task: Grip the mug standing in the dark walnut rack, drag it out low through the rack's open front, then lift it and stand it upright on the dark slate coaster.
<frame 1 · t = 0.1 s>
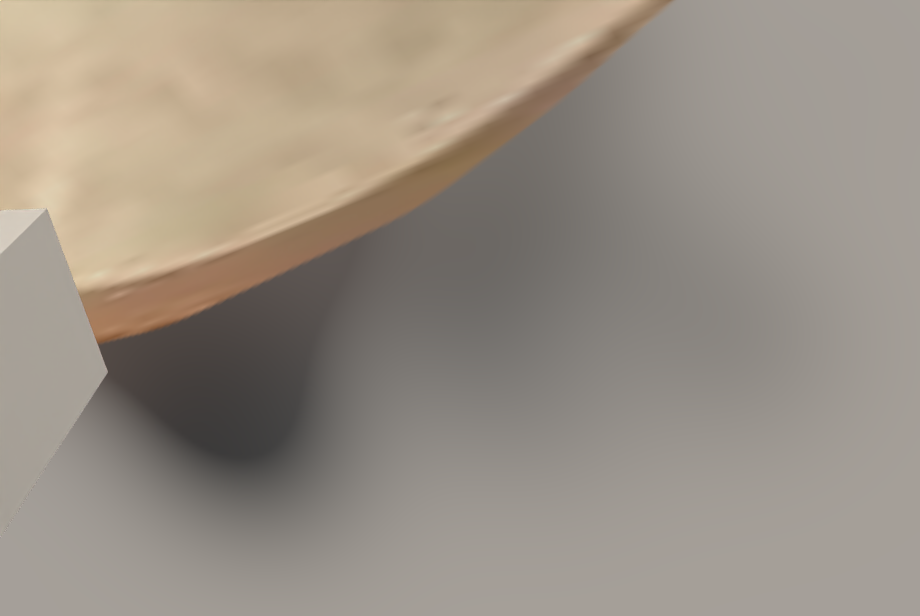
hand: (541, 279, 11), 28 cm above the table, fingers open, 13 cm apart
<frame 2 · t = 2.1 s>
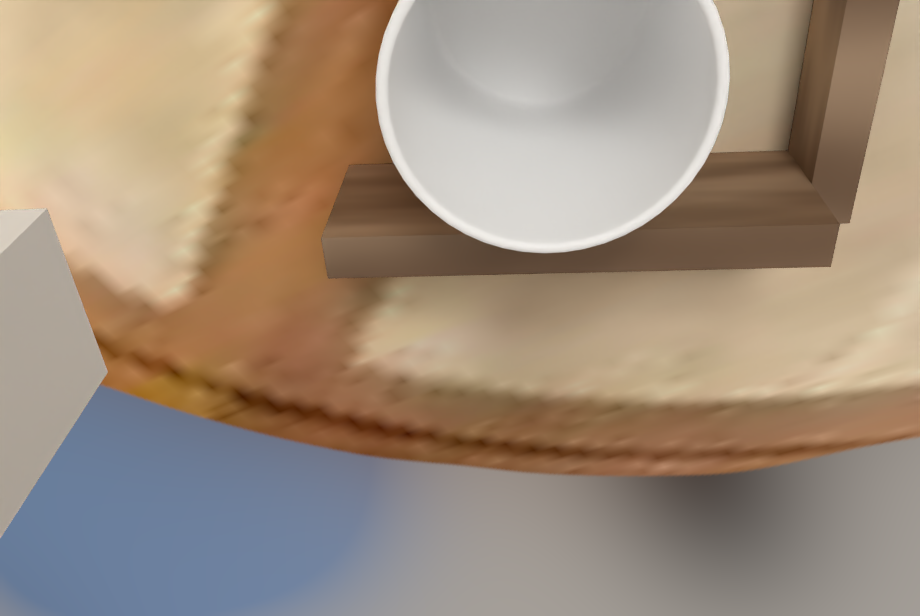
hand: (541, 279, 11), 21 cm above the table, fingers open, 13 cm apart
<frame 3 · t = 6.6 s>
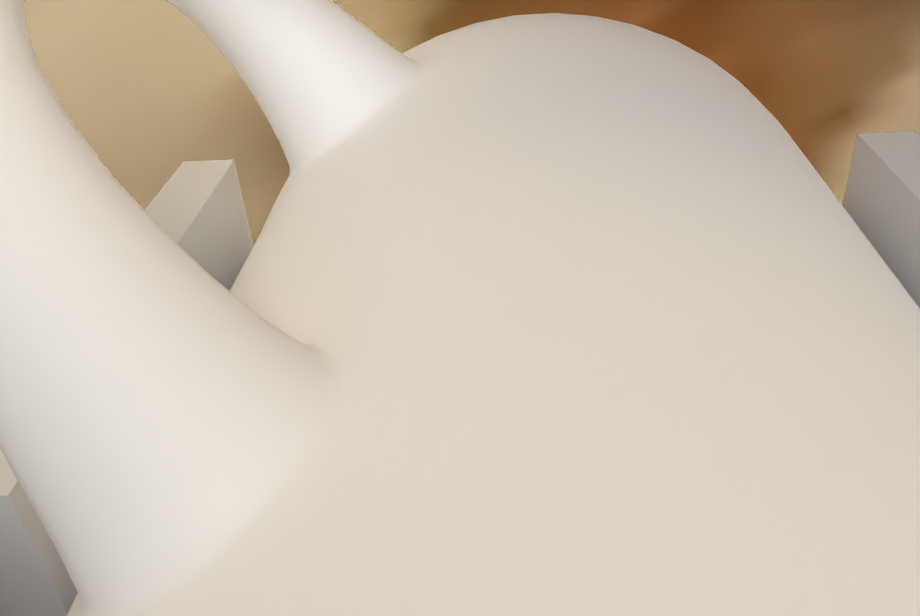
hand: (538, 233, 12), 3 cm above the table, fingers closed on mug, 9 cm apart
mug: (478, 178, 14), point 2 cm above the table, touching gripper
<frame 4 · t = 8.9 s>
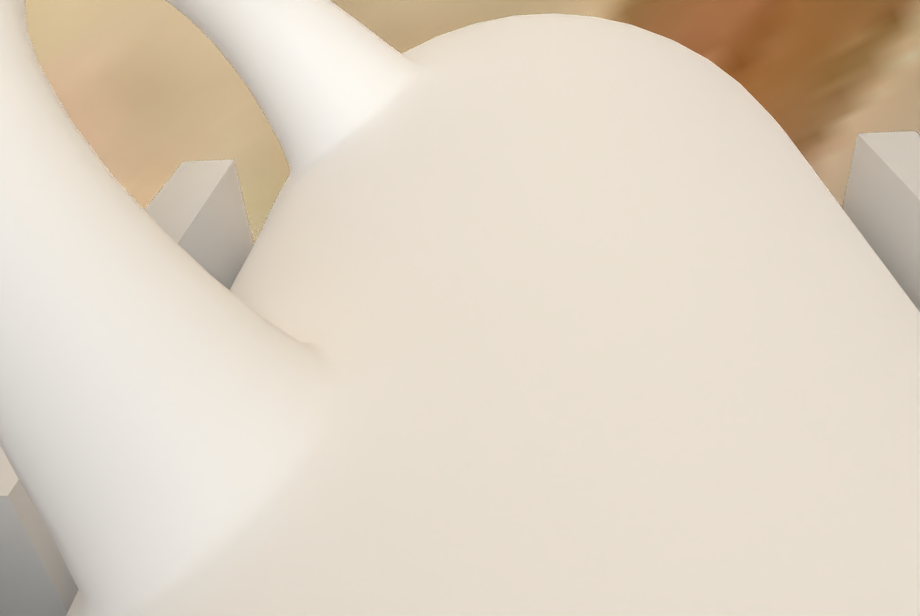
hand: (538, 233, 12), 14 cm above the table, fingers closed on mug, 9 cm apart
mug: (477, 178, 14), point 12 cm above the table, touching gripper
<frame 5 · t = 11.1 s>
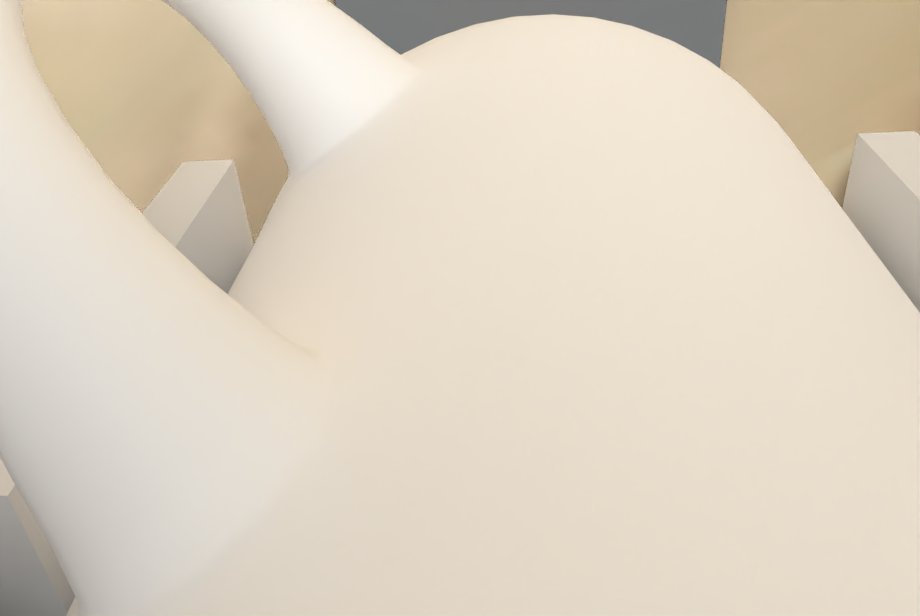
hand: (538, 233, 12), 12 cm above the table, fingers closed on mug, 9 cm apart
mug: (477, 179, 14), point 10 cm above the table, touching gripper
coaster: (528, 17, 22), on the table
when the fingers open (3 cm above the table, at t = 13.0 s): mug drops 1 cm, resting on coaster.
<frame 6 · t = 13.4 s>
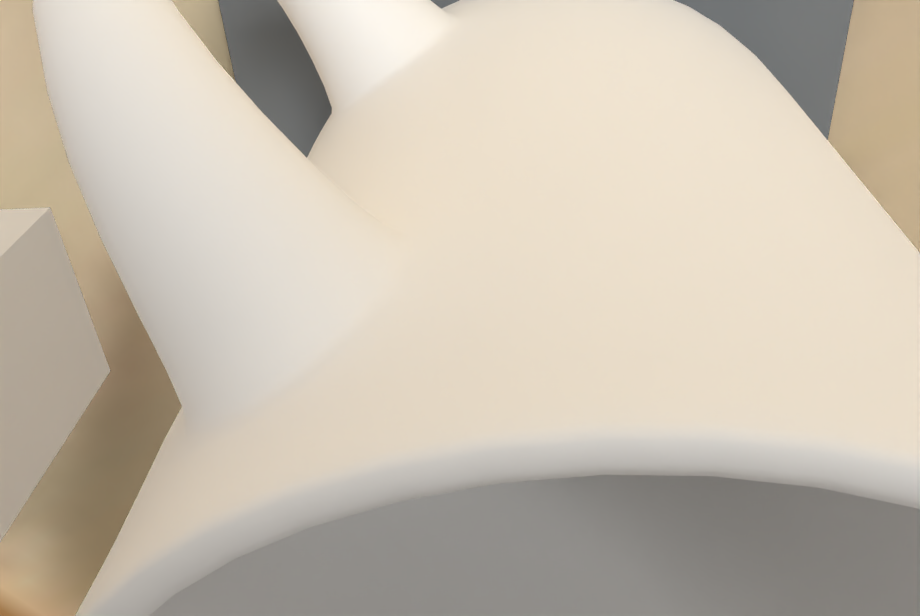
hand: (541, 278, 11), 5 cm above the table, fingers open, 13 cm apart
mug: (498, 136, 15), resting on coaster
coaster: (532, 144, 15), on the table
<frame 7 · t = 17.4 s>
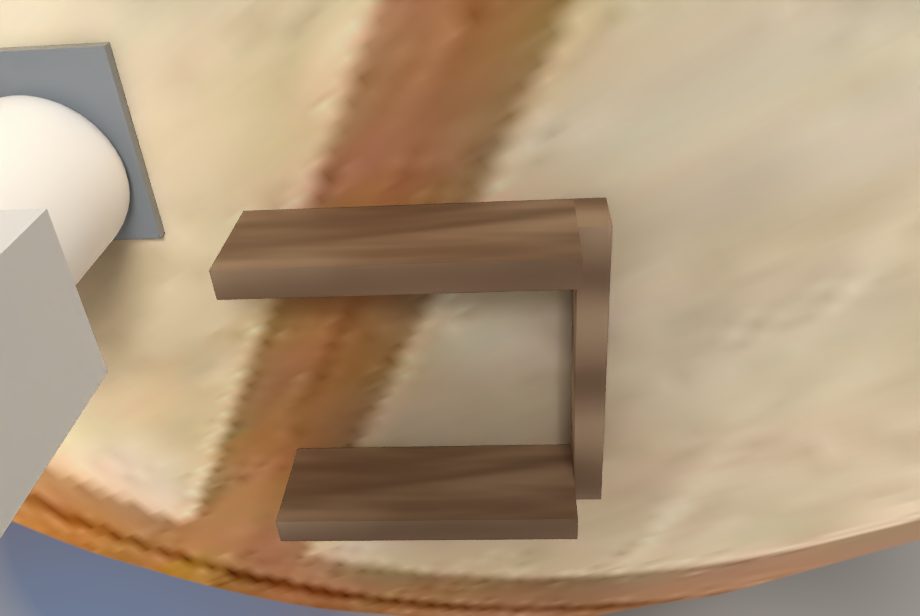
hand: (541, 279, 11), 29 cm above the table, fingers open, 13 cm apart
mug: (24, 145, 41), resting on coaster
rack: (387, 349, 48), on the table
coaster: (42, 148, 42), on the table
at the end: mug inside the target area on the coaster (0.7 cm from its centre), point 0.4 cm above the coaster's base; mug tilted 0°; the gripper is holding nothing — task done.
